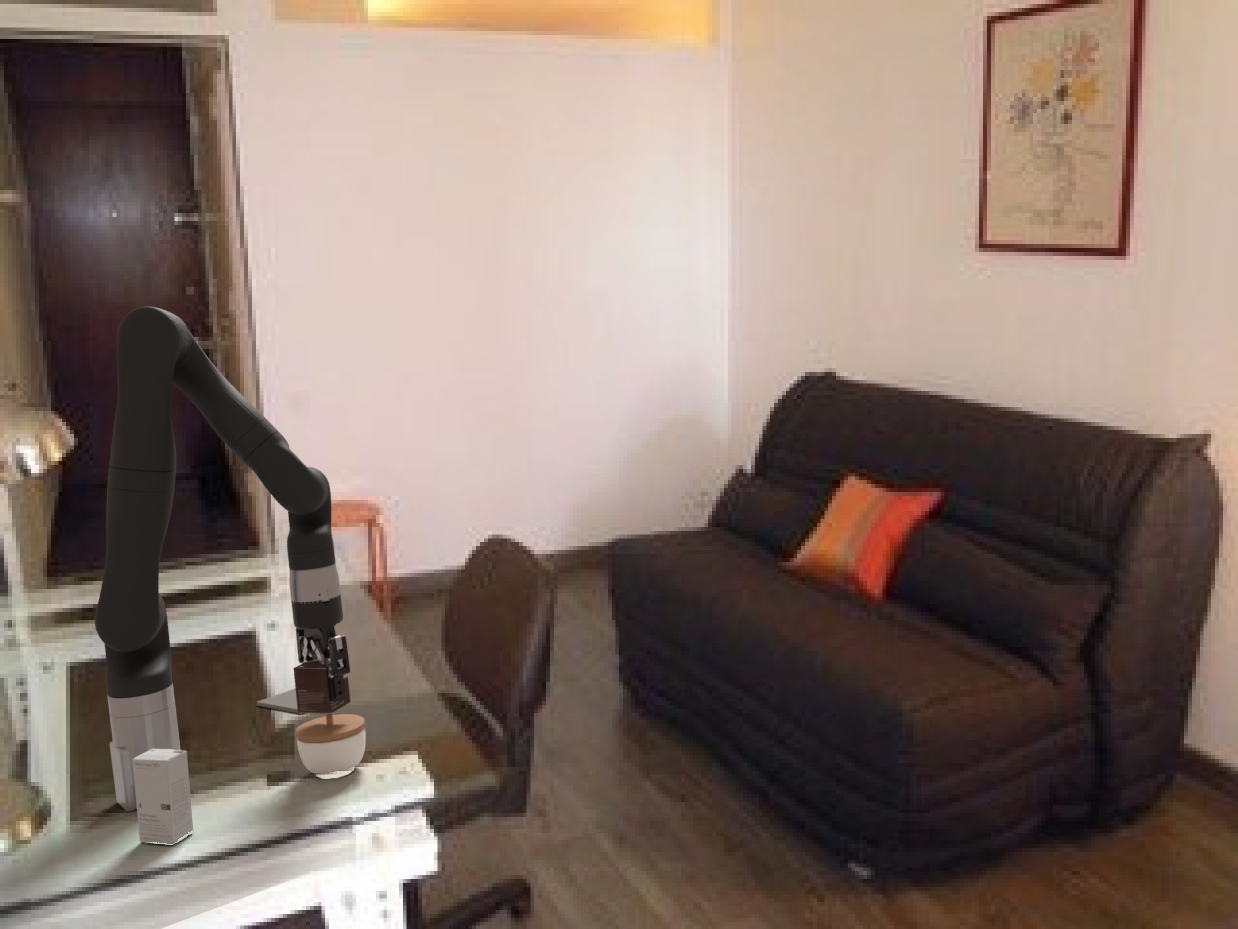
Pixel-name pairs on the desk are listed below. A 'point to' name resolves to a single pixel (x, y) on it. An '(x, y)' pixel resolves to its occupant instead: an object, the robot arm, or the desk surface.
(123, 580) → the robot arm
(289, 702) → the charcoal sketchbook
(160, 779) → the skincare box
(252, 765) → the desk surface
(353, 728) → the lidded jar
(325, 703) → the box
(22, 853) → the desk surface
